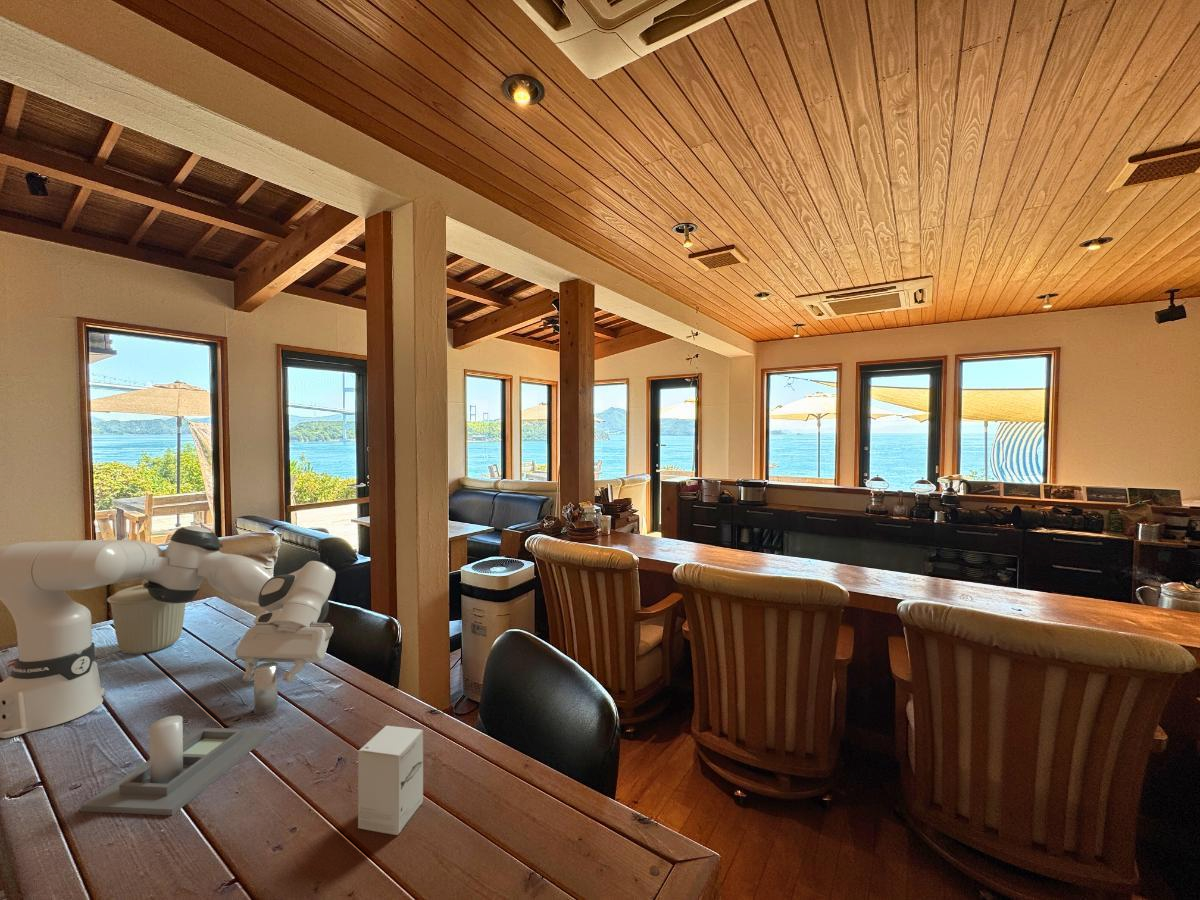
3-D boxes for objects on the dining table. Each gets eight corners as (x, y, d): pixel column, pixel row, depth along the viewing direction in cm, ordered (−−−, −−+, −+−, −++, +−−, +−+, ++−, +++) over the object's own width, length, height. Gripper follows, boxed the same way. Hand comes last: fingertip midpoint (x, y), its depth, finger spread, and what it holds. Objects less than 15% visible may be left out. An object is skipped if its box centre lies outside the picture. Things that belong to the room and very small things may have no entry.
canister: (156, 633, 155) (155, 568, 155) (206, 636, 153) (205, 570, 152) (89, 658, 137) (88, 584, 137) (144, 662, 135) (143, 587, 135)
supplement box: (398, 837, 75) (397, 756, 75) (356, 829, 77) (355, 750, 76) (424, 802, 82) (424, 728, 82) (386, 795, 84) (385, 723, 84)
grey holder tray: (80, 811, 80) (79, 745, 80) (198, 732, 102) (197, 680, 102) (172, 815, 79) (171, 749, 79) (270, 734, 101) (270, 682, 101)
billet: (249, 715, 109) (248, 670, 109) (264, 704, 113) (263, 661, 113) (268, 715, 109) (267, 671, 108) (282, 704, 113) (281, 662, 113)
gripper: (341, 628, 122) (317, 686, 113) (263, 626, 123) (233, 684, 114) (330, 617, 118) (304, 676, 108) (249, 615, 119) (216, 674, 109)
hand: (267, 680), depth 111 cm, fingers open, 8 cm apart
